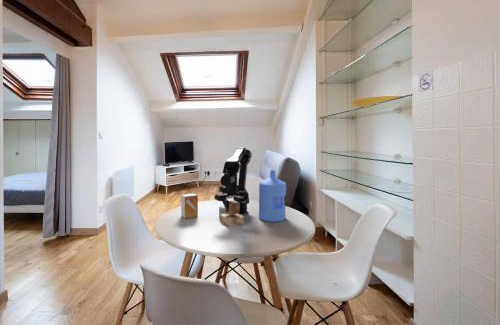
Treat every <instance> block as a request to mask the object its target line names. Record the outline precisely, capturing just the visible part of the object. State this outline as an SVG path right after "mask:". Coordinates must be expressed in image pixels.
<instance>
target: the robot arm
mask: <svg viewBox="0 0 500 325" xmlns="http://www.w3.org/2000/svg"><path fill="white" fill-rule="evenodd" d="M252 156H253V155H252V151H250V149H248V148H246V147H242V146H241V147H236V151H235V152H234V154H233V155H232V156H231V157H230V158H228V159H227V160H226V161H225V163H224V165H223V169H222V174H223V176H221V178H220V184H221V186H219V187H218V192H219V193H216V194H215V195H214V200H216V201H217V202H222V204H223V206H224V207H225V209H226V212H228V206H229V201H230V200H228V199H230V198H233V200H234V201H237V202H239V203H240V213H239V214H240V215H244V214H249V211H248V204H250V197H249V196H250V193H249V192H248V190H247V189H246V188H247V187H246V184H247V174H248V165H249V164H250V162H251V159H252Z"/></svg>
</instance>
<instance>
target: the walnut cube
mask: <svg viewBox="0 0 500 325" xmlns="http://www.w3.org/2000/svg"><path fill="white" fill-rule="evenodd" d="M228 201H229V206H228V212H226V209H225V213H227V214H229V215H233V214H238V213H240V203H239V202H237V201H234V199H233V200H228Z"/></svg>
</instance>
